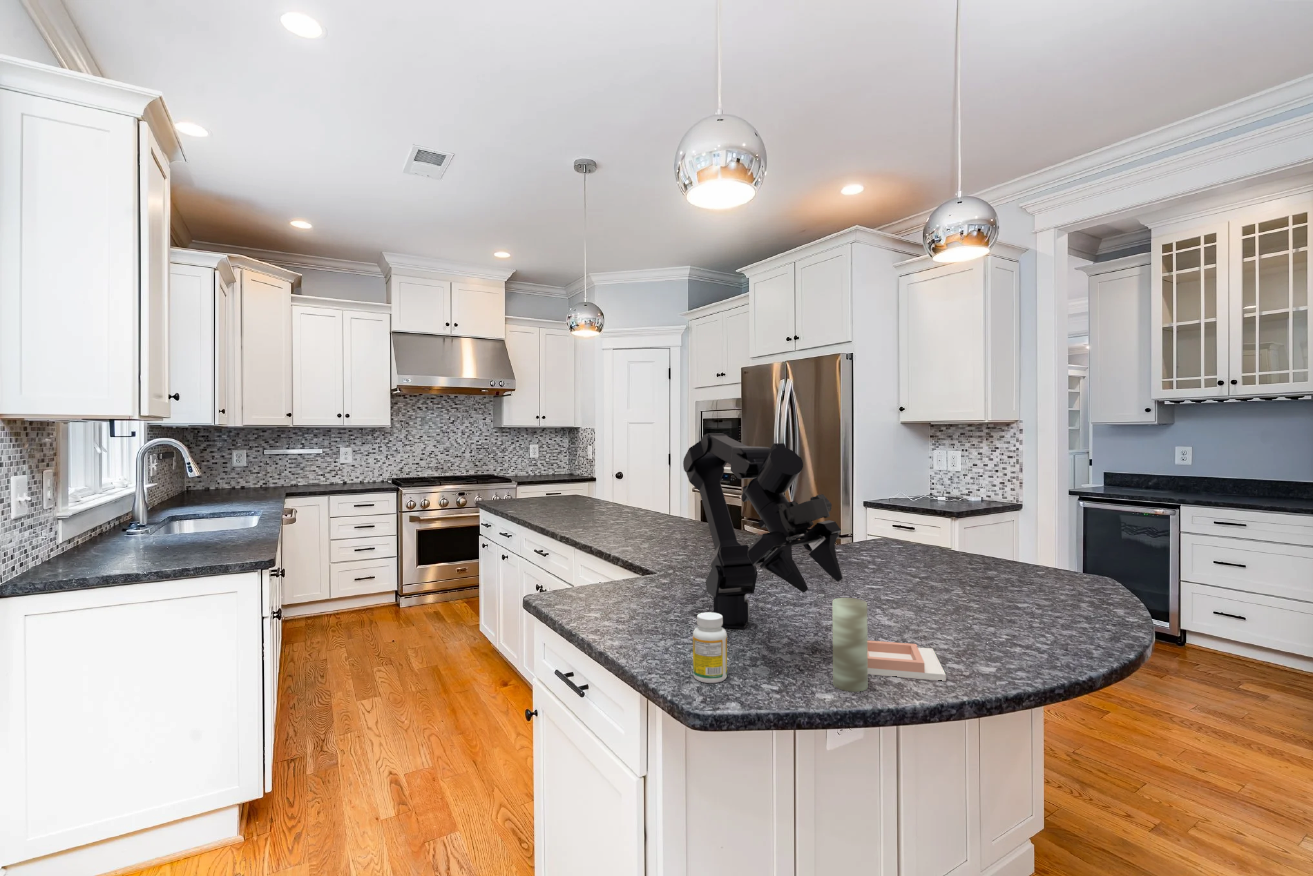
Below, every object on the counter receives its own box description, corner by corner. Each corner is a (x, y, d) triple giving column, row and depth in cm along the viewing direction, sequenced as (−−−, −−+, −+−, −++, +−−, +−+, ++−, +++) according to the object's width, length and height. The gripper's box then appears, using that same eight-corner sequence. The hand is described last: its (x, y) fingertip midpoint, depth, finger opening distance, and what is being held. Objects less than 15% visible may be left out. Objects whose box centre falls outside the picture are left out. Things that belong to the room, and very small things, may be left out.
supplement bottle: (714, 686, 93) (713, 622, 93) (685, 678, 96) (685, 616, 96) (734, 676, 97) (733, 614, 97) (706, 668, 101) (705, 609, 101)
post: (833, 690, 91) (832, 605, 91) (832, 677, 96) (832, 597, 96) (868, 693, 90) (868, 607, 90) (866, 680, 95) (866, 599, 95)
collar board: (862, 673, 97) (862, 658, 97) (858, 648, 109) (858, 634, 109) (945, 681, 94) (945, 664, 94) (932, 654, 106) (932, 639, 106)
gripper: (763, 484, 97) (819, 569, 90) (834, 475, 109) (888, 550, 101) (726, 524, 104) (775, 607, 96) (796, 511, 116) (844, 584, 108)
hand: (823, 585), depth 100 cm, fingers open, 9 cm apart
